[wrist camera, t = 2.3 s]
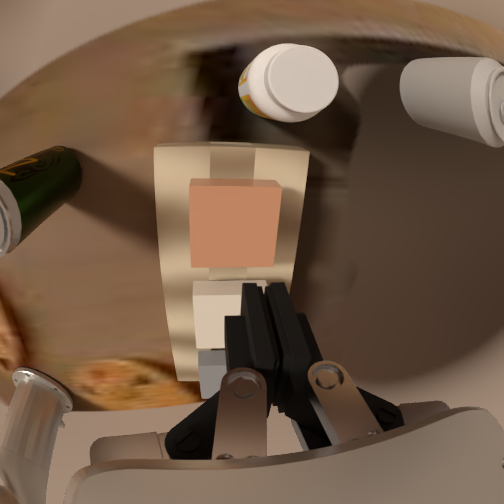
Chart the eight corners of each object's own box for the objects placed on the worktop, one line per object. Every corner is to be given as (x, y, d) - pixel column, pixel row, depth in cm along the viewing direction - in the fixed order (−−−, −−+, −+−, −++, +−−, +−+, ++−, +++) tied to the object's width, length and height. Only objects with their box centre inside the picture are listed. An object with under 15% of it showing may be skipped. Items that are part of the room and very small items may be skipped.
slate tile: (251, 371, 33) (255, 396, 29) (201, 373, 32) (201, 398, 29) (255, 337, 30) (260, 363, 27) (198, 338, 29) (198, 365, 26)
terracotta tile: (264, 243, 25) (273, 266, 21) (193, 244, 24) (190, 267, 21) (271, 174, 22) (282, 187, 19) (192, 172, 21) (189, 185, 18)
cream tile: (257, 319, 29) (263, 346, 25) (196, 321, 28) (196, 348, 25) (262, 269, 26) (270, 294, 23) (194, 269, 25) (192, 295, 22)
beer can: (93, 187, 23) (26, 248, 13) (52, 206, 23) (-17, 270, 13) (74, 134, 21) (-9, 165, 10) (33, 158, 21) (-49, 201, 10)
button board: (269, 360, 37) (273, 377, 34) (178, 363, 35) (178, 380, 33) (299, 146, 24) (309, 151, 22) (160, 142, 22) (153, 147, 20)
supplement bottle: (304, 115, 23) (355, 123, 14) (242, 122, 23) (262, 131, 14) (296, 57, 20) (344, 34, 12) (233, 62, 20) (247, 36, 12)
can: (453, 108, 23) (536, 129, 13) (415, 138, 25) (502, 170, 14) (426, 49, 20) (513, 48, 10) (382, 76, 22) (474, 77, 11)
